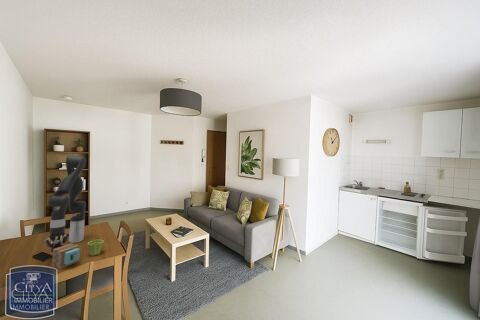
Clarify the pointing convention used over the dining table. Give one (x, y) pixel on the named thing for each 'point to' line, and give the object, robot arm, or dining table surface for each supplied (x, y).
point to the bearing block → (62, 255)
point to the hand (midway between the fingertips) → (56, 251)
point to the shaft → (71, 255)
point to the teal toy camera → (68, 256)
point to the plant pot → (95, 247)
